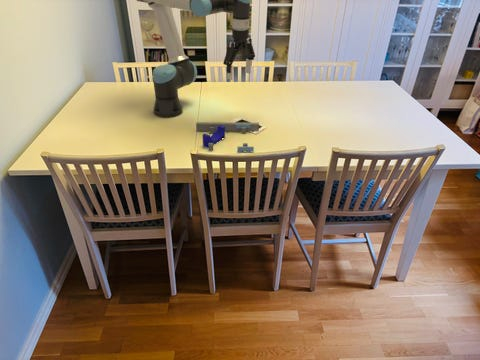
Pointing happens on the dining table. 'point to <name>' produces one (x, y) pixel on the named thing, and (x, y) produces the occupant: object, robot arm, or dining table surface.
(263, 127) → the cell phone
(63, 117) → the dining table surface
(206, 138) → the blue angled bracket
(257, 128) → the gray assembly fixture
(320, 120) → the dining table surface
